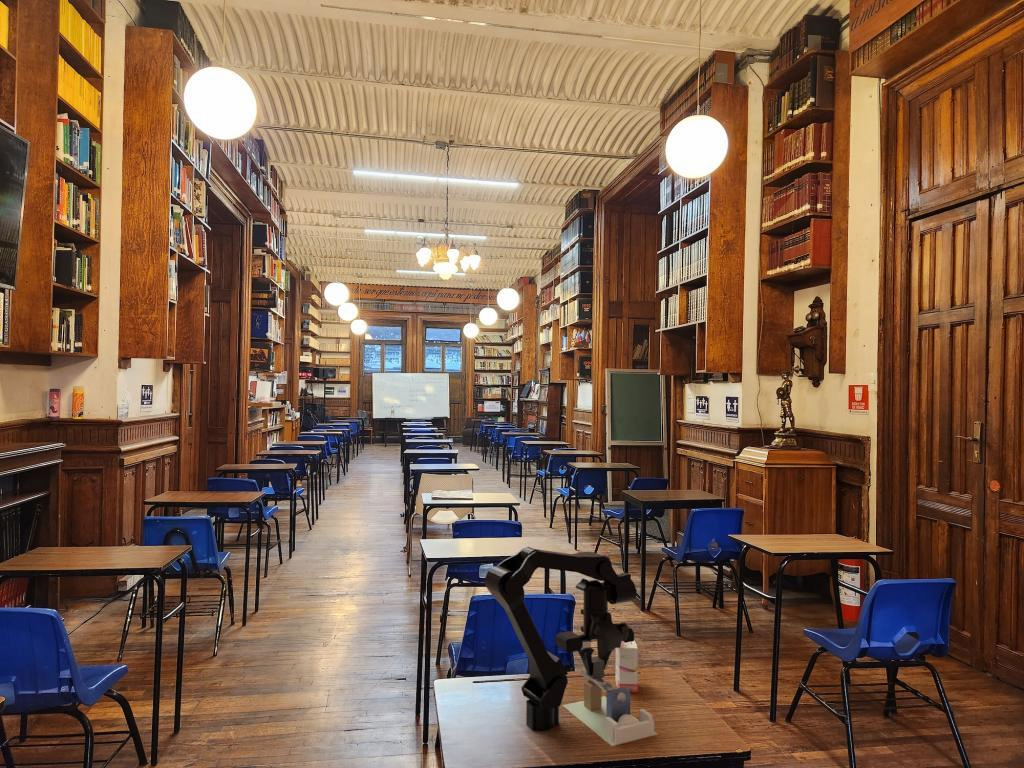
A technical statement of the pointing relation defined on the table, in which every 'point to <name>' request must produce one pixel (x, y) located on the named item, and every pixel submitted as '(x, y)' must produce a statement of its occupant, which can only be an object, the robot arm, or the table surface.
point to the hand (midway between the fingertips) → (595, 673)
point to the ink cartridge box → (627, 666)
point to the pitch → (593, 710)
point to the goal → (630, 729)
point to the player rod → (609, 691)
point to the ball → (626, 720)
